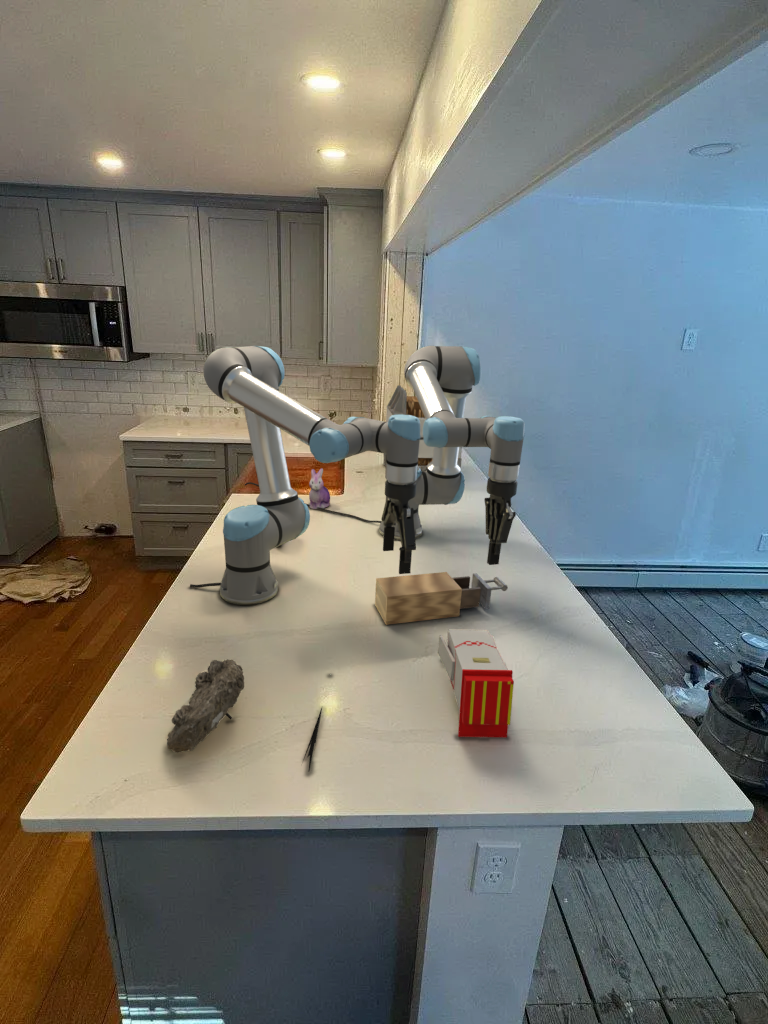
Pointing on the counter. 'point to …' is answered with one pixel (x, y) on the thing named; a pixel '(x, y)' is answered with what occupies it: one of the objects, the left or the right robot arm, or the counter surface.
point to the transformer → (412, 407)
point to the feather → (313, 740)
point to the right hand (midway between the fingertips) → (492, 563)
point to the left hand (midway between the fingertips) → (395, 561)
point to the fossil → (206, 705)
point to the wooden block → (417, 597)
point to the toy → (478, 682)
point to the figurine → (318, 491)
